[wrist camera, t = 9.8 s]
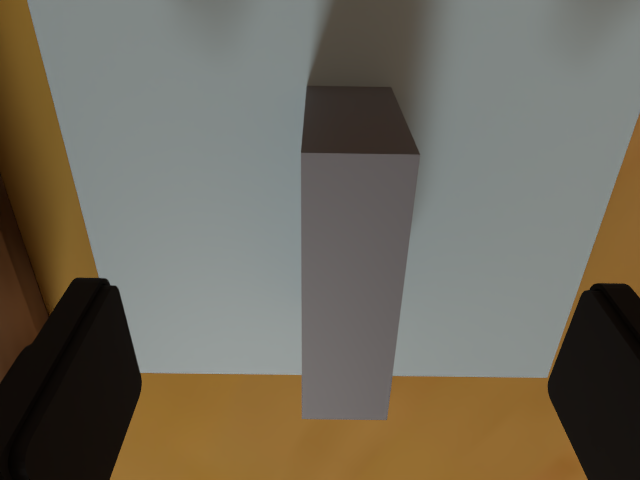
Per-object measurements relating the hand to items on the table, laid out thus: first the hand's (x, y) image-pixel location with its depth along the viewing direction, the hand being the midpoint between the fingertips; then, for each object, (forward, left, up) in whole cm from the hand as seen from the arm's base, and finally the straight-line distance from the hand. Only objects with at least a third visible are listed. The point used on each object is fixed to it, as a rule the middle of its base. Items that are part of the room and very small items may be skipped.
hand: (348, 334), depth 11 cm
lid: (+1, 0, -9) cm, 9 cm away
